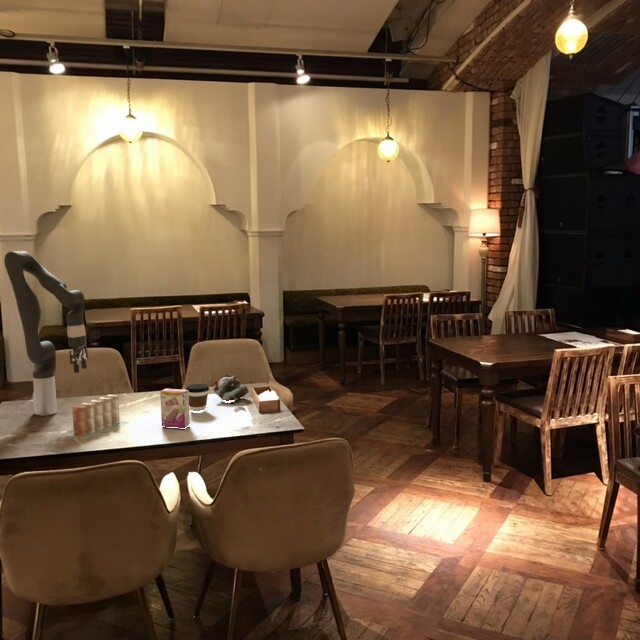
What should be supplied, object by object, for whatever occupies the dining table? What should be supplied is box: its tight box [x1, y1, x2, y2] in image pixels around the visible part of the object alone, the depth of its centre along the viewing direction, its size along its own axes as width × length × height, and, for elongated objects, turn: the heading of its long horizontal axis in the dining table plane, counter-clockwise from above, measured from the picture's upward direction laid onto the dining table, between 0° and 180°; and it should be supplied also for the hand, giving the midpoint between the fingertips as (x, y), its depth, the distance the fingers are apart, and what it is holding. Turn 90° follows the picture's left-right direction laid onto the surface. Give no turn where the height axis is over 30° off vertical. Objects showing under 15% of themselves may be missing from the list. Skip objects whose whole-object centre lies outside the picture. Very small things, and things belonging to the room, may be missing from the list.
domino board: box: [63, 420, 130, 440], centre depth 299 cm, size 12×26×1 cm, turn 153°
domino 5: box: [106, 394, 121, 423], centre depth 307 cm, size 5×2×12 cm, turn 63°
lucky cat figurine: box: [212, 374, 250, 401], centre depth 344 cm, size 15×12×14 cm
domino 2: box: [80, 402, 95, 433], centre depth 294 cm, size 5×2×12 cm, turn 64°
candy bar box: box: [160, 388, 191, 428], centre depth 301 cm, size 11×5×16 cm, turn 74°
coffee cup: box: [184, 383, 210, 411], centre depth 325 cm, size 11×11×12 cm
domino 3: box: [89, 399, 103, 430], centre depth 298 cm, size 5×2×12 cm, turn 63°
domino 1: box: [71, 405, 86, 436], centre depth 289 cm, size 5×2×12 cm, turn 63°
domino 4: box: [98, 396, 112, 426], centre depth 303 cm, size 5×2×12 cm, turn 63°
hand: (80, 370), depth 317 cm, fingers open, 8 cm apart
